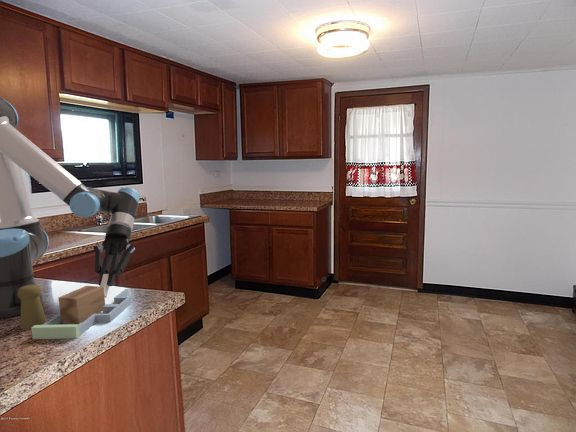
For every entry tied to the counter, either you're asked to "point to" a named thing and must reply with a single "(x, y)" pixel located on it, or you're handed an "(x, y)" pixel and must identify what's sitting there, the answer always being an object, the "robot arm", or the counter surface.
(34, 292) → the cork
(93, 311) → the walnut block
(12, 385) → the counter surface
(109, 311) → the trap lane
